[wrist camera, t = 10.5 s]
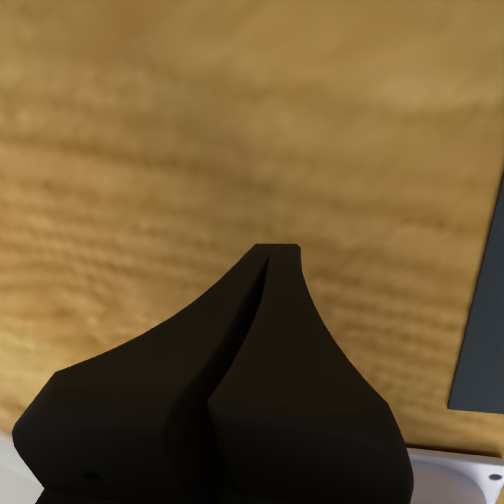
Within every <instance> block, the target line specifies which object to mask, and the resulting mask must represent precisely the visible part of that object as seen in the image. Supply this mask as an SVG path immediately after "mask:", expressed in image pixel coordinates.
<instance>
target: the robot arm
mask: <svg viewBox="0 0 504 504" xmlns="http://www.w3.org/2000/svg"><path fill="white" fill-rule="evenodd" d="M12 437H13V443H14V447H15V448H16V450H17V452H18V454H19V455H20V457H21V458H22V459H23V461H24V462H25V463H26V465H27V466H28V467H29V469H30V470H31V471H32V473H33V474H34V475H35V477H36V478H37V479H38V481H39V482H40V483H41V485H42V486H43V487H44V490H43V492H42V493H41V496H40V497H39V498H38V500H37V502H36V503H35V504H495V503H496V501H497V499H498V496H499V494H500V492H501V490H502V487H503V485H504V460H503V459H501V458H497V457H488V456H479V455H470V454H461V453H452V452H443V451H434V450H424V449H415V448H406V445H405V442H404V440H403V437H402V435H401V432H400V430H399V427H398V425H397V423H396V420H395V418H394V416H393V414H392V412H391V409H390V407H389V405H388V403H387V402H386V401H385V400H384V399H383V398H382V397H381V396H380V395H379V394H378V393H377V392H376V391H375V390H374V389H373V388H372V387H371V385H370V384H369V383H368V382H367V381H366V380H365V379H364V378H363V377H362V375H361V374H360V373H359V372H358V371H357V369H356V368H355V367H354V366H353V365H352V364H351V362H350V361H349V360H348V358H347V357H346V355H345V354H344V353H343V351H342V350H341V349H340V347H339V346H338V344H337V343H336V342H335V340H334V339H333V337H332V336H331V334H330V332H329V331H328V329H327V328H326V326H325V324H324V322H323V321H322V319H321V317H320V315H319V313H318V311H317V309H316V307H315V305H314V303H313V301H312V298H311V296H310V294H309V291H308V288H307V286H306V283H305V279H304V276H303V273H302V266H301V247H300V246H298V245H297V244H255V245H254V246H253V247H252V248H251V249H250V250H249V251H248V252H247V253H246V254H245V255H244V256H243V257H242V258H241V259H240V260H239V261H238V262H237V263H236V264H235V265H234V266H233V267H232V268H231V269H230V270H229V271H228V272H227V273H226V274H225V275H224V276H223V277H222V278H221V279H220V280H219V281H218V282H216V283H215V284H214V285H213V286H212V287H211V288H209V289H208V290H207V291H206V292H205V293H204V294H202V295H201V296H200V297H199V298H197V299H196V300H195V301H194V302H192V303H191V304H190V305H188V306H187V307H185V308H184V309H182V310H181V311H180V312H178V313H177V314H175V315H174V316H172V317H171V318H169V319H167V320H166V321H164V322H162V323H161V324H159V325H157V326H156V327H154V328H152V329H150V330H149V331H147V332H145V333H144V334H142V335H140V336H138V337H136V338H134V339H132V340H130V341H128V342H126V343H124V344H122V345H120V346H118V347H116V348H114V349H112V350H109V351H107V352H105V353H103V354H100V355H98V356H96V357H93V358H91V359H88V360H85V361H83V362H80V363H78V364H75V365H73V366H70V367H68V368H65V369H62V370H60V371H57V372H55V373H54V374H53V376H52V377H51V378H50V379H49V381H48V382H47V383H46V384H45V386H44V387H43V388H42V390H41V391H40V392H39V394H38V395H37V396H36V397H35V399H34V400H33V401H32V403H31V404H30V405H29V407H28V408H27V409H26V410H25V412H24V413H23V414H22V416H21V417H20V418H19V420H18V421H17V422H16V423H15V425H14V428H13V430H12Z"/></svg>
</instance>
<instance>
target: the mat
mask: <svg viewBox="0 0 504 504" xmlns="http://www.w3.org/2000/svg"><path fill="white" fill-rule="evenodd" d="M447 408H448V409H452V410H463V411H475V412H486V413H498V414H504V174H503V178H502V182H501V186H500V191H499V195H498V199H497V203H496V207H495V211H494V216H493V220H492V224H491V228H490V232H489V236H488V241H487V245H486V249H485V253H484V257H483V261H482V265H481V270H480V274H479V278H478V282H477V286H476V290H475V295H474V299H473V303H472V307H471V311H470V315H469V319H468V324H467V328H466V332H465V336H464V340H463V344H462V349H461V353H460V357H459V361H458V365H457V369H456V373H455V378H454V382H453V386H452V390H451V394H450V398H449V403H448V407H447Z"/></svg>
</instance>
